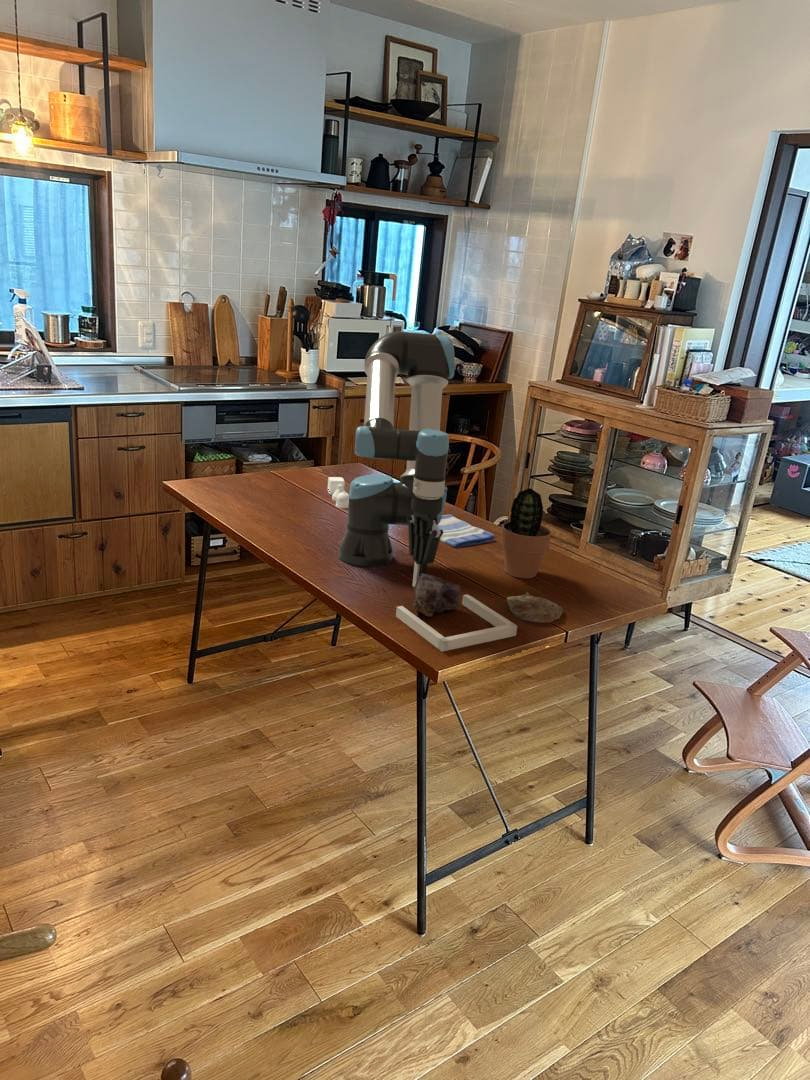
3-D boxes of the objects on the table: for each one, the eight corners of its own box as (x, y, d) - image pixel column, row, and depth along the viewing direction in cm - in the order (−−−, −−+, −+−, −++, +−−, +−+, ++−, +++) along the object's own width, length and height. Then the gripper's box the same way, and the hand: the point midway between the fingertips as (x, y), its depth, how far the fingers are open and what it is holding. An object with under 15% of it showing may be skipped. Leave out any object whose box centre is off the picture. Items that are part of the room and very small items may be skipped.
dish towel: (450, 520, 271) (451, 512, 270) (496, 542, 253) (497, 534, 252) (407, 526, 261) (408, 517, 261) (453, 550, 244) (454, 541, 243)
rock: (460, 619, 199) (437, 601, 207) (469, 585, 196) (445, 569, 205) (418, 619, 192) (396, 601, 200) (428, 584, 190) (405, 567, 198)
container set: (327, 491, 289) (327, 476, 287) (341, 491, 290) (342, 477, 289) (336, 509, 271) (338, 493, 269) (352, 509, 272) (353, 493, 271)
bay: (395, 616, 194) (396, 606, 194) (466, 603, 205) (467, 594, 204) (441, 651, 179) (443, 641, 178) (515, 635, 190) (517, 625, 189)
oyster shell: (568, 626, 198) (572, 604, 197) (508, 621, 198) (511, 599, 196) (559, 607, 209) (563, 586, 207) (502, 602, 208) (505, 581, 207)
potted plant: (554, 575, 229) (568, 490, 221) (524, 585, 220) (537, 497, 212) (516, 560, 238) (528, 477, 230) (486, 569, 229) (497, 484, 221)
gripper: (400, 489, 199) (392, 578, 207) (429, 504, 189) (419, 597, 196) (426, 487, 203) (417, 575, 211) (455, 501, 193) (445, 593, 200)
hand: (418, 586), depth 203 cm, fingers closed
